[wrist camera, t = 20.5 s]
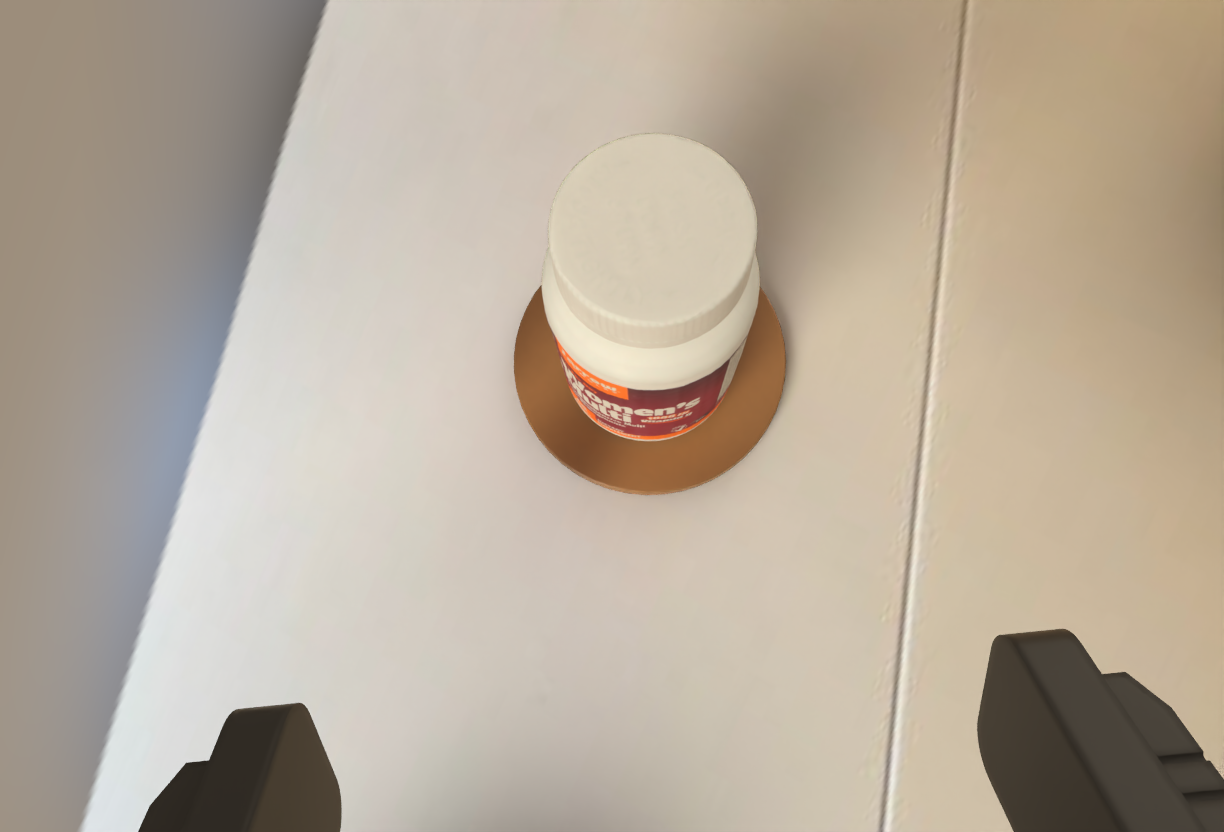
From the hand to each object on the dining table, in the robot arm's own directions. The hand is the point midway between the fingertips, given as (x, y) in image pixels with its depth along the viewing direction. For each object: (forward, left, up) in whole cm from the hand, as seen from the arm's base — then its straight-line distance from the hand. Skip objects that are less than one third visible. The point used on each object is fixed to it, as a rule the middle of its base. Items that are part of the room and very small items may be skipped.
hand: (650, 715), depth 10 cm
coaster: (-4, +10, -21) cm, 23 cm away
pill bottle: (-4, +10, -20) cm, 23 cm away
